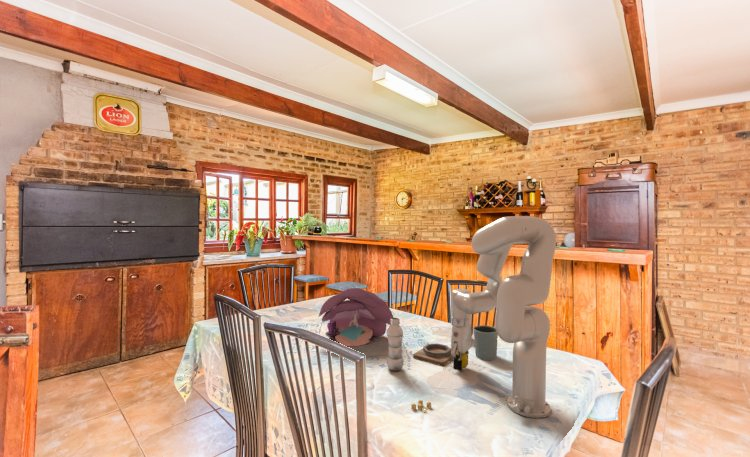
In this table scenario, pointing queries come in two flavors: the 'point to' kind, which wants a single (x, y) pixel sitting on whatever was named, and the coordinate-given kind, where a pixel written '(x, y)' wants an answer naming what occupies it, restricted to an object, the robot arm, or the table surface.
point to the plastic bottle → (395, 345)
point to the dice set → (421, 405)
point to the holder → (435, 354)
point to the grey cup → (485, 342)
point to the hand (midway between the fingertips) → (460, 366)
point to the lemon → (463, 359)
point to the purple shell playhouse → (355, 316)
